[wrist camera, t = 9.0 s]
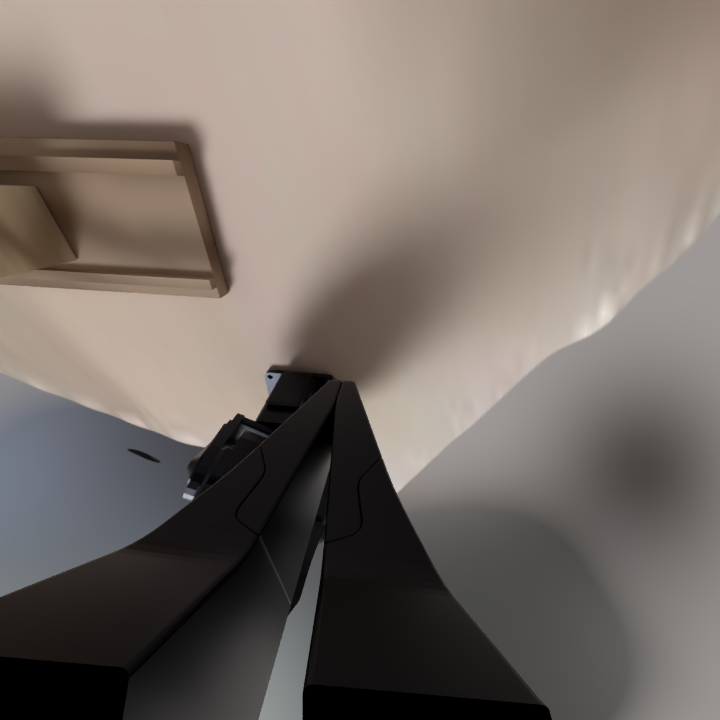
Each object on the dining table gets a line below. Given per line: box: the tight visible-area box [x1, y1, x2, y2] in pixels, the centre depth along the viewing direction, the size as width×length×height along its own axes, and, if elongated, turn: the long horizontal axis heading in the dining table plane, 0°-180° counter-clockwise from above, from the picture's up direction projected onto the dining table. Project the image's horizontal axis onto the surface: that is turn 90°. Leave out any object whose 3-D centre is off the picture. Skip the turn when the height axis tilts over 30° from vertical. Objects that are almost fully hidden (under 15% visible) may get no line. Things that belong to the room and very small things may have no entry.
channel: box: [0, 137, 228, 298], centre depth 18 cm, size 9×22×2 cm, turn 88°
